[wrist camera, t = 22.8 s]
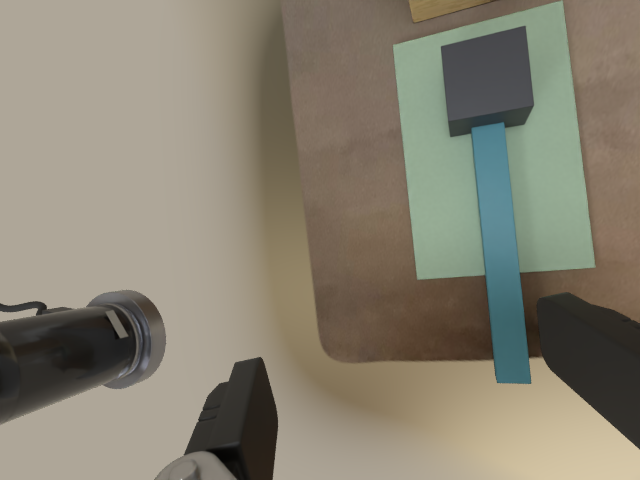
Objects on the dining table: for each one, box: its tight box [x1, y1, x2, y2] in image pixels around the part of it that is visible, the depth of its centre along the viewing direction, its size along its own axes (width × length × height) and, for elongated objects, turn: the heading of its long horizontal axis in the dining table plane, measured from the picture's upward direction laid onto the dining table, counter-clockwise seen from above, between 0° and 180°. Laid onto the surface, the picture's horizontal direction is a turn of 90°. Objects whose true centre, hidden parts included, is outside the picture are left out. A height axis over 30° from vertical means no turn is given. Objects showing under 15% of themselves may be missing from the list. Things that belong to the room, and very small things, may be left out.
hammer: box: [441, 26, 534, 384], centre depth 32 cm, size 28×6×5 cm, turn 5°
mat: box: [393, 0, 595, 280], centre depth 35 cm, size 22×14×1 cm, turn 6°
